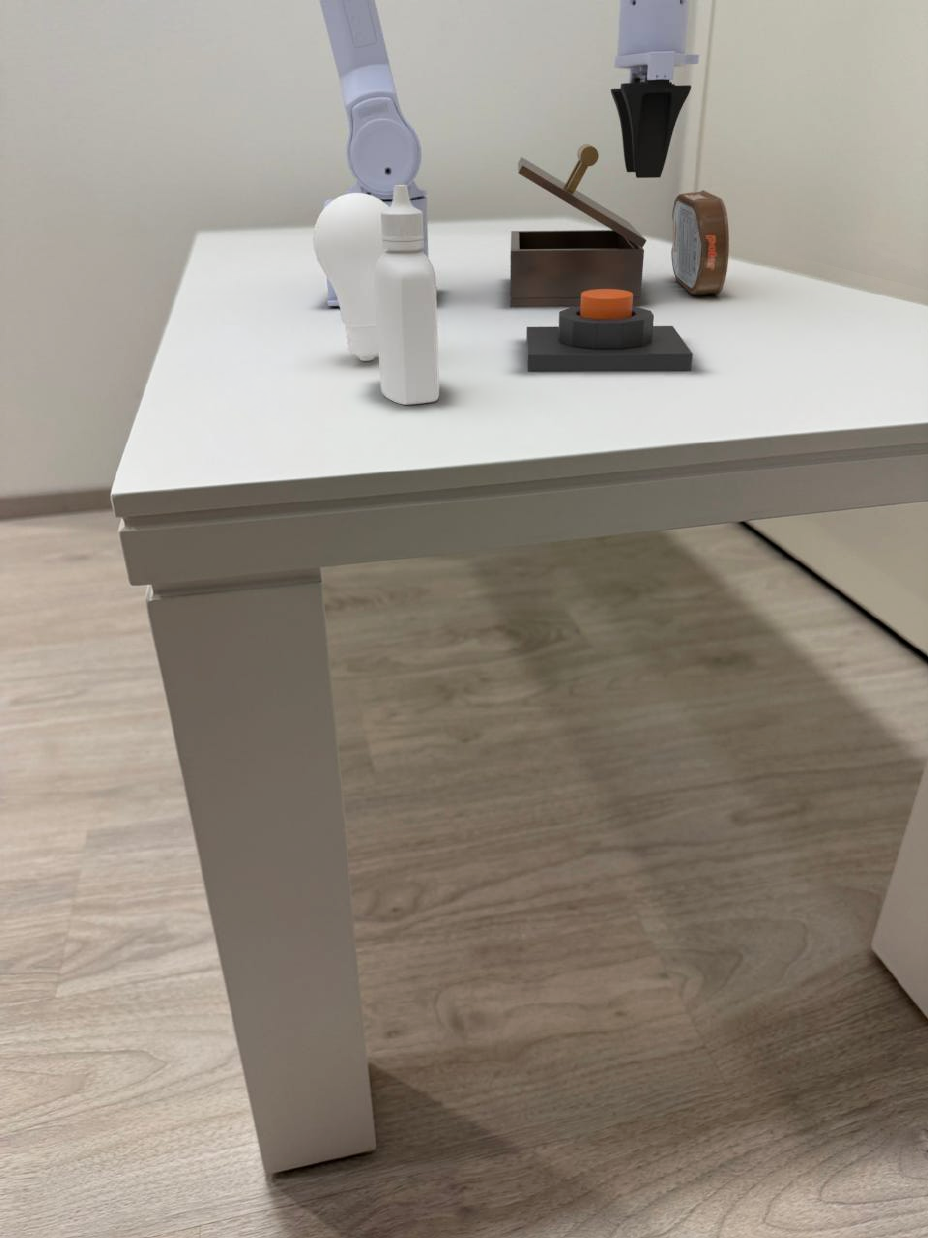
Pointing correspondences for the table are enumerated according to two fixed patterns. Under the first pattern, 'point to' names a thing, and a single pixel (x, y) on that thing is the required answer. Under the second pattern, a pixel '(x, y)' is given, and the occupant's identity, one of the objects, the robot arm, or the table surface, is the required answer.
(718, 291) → the tin
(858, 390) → the table surface
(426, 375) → the eye dropper bottle
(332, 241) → the lightbulb
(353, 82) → the robot arm
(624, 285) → the box
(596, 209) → the lid
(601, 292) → the button
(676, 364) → the switch block
